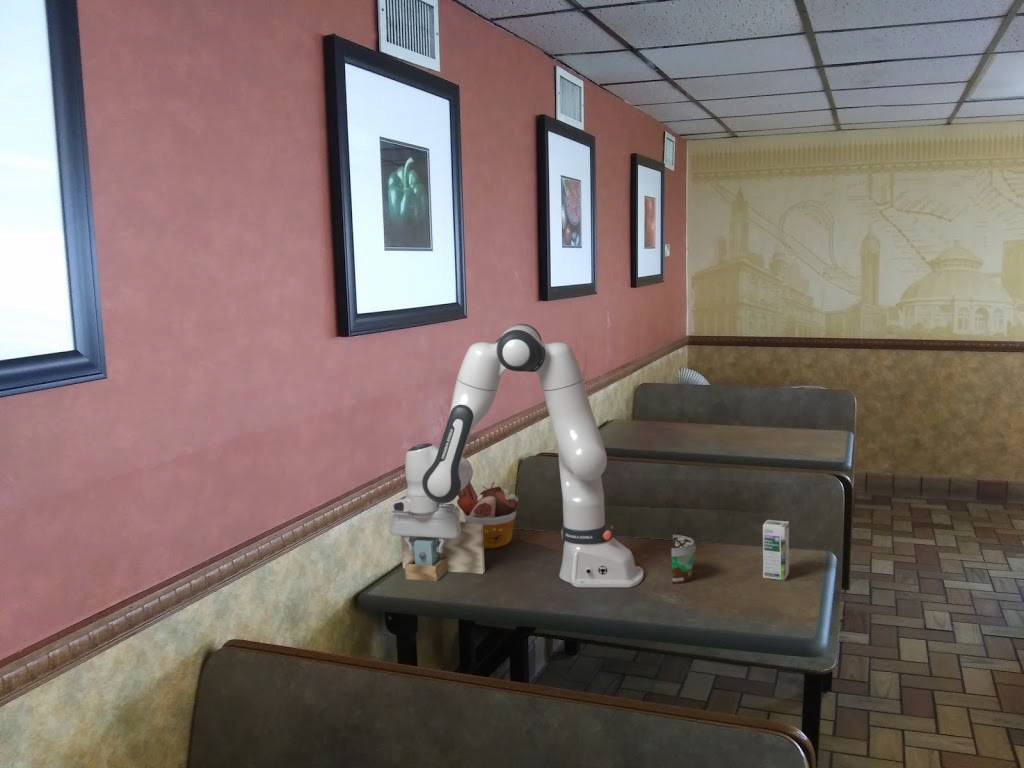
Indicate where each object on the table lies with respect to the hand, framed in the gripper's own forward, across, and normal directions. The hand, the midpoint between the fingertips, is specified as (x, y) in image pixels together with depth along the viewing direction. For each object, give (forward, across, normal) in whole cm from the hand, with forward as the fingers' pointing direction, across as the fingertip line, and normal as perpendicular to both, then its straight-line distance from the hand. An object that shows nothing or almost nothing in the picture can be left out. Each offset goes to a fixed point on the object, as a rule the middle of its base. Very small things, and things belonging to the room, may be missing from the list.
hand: (426, 551), depth 257 cm
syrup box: (+7, -92, -16) cm, 94 cm away
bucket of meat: (+7, -8, -30) cm, 31 cm away
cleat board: (+7, -3, 0) cm, 7 cm away
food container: (+7, -69, -10) cm, 70 cm away
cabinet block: (+7, 0, 0) cm, 7 cm away
